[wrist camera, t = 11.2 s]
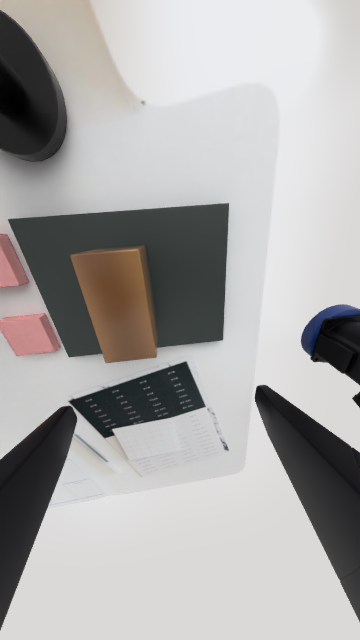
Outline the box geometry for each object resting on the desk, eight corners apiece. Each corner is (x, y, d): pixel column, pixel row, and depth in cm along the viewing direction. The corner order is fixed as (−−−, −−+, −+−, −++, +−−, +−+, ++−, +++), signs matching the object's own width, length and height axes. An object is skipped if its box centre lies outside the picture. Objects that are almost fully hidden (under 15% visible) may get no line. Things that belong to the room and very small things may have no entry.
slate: (225, 205, 15) (229, 203, 14) (220, 335, 21) (223, 340, 20) (17, 220, 14) (7, 219, 13) (72, 351, 20) (68, 357, 19)
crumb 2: (46, 312, 18) (38, 317, 17) (61, 345, 20) (55, 351, 18) (5, 317, 18) (-5, 322, 16) (24, 349, 19) (16, 356, 18)
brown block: (146, 244, 15) (138, 248, 10) (158, 327, 18) (156, 357, 14) (98, 248, 14) (69, 254, 10) (119, 331, 18) (105, 363, 14)
